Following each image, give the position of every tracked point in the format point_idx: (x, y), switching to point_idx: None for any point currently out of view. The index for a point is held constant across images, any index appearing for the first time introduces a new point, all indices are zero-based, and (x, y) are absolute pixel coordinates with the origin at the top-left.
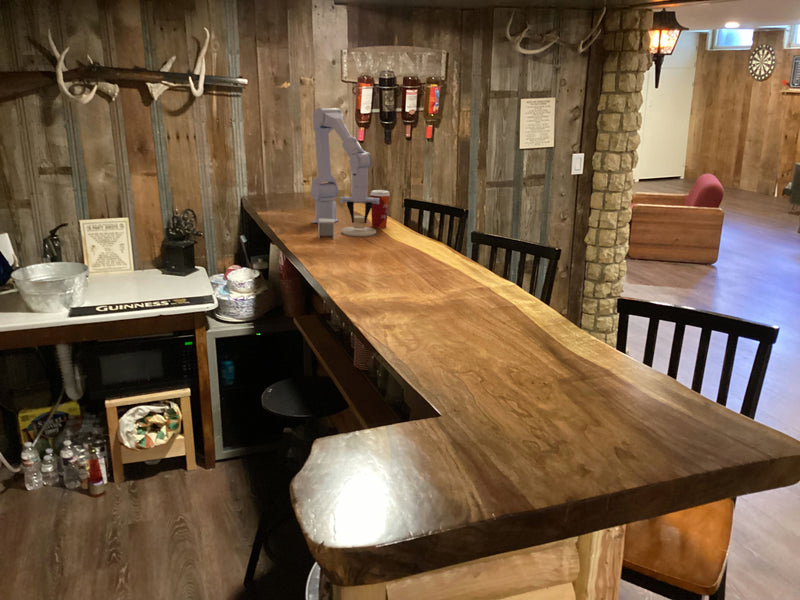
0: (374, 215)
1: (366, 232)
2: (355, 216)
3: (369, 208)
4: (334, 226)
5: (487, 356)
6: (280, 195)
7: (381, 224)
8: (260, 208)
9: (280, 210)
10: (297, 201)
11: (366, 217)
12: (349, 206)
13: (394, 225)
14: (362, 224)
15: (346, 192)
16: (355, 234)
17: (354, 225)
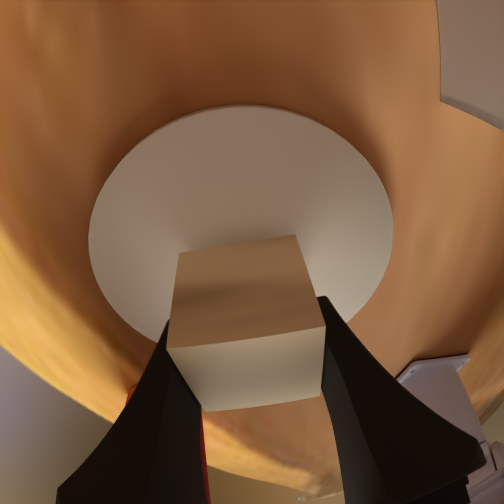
0: None
1: (149, 202)
2: (302, 377)
3: (84, 478)
4: (498, 120)
5: None
6: None
7: None
8: (500, 398)
9: (474, 408)
10: None
11: (152, 368)
12: (454, 456)
13: (116, 417)
14: (197, 279)
15: (313, 496)
16: (252, 107)
17: (291, 256)
